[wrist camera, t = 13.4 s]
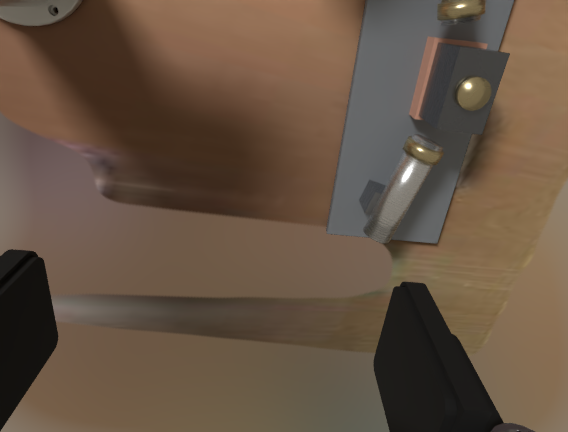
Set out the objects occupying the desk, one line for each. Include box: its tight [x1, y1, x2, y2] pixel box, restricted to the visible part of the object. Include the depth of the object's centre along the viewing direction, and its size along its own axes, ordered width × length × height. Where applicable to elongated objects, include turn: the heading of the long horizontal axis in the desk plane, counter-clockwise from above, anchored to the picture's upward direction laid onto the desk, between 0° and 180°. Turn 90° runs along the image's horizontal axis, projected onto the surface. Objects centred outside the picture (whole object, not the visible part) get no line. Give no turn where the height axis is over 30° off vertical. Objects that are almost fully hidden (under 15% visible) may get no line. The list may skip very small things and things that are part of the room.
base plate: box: [326, 0, 514, 243], centre depth 39 cm, size 13×36×3 cm, turn 174°
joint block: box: [419, 42, 510, 135], centre depth 35 cm, size 4×6×6 cm, turn 173°
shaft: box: [359, 134, 444, 244], centre depth 42 cm, size 11×4×7 cm, turn 159°
